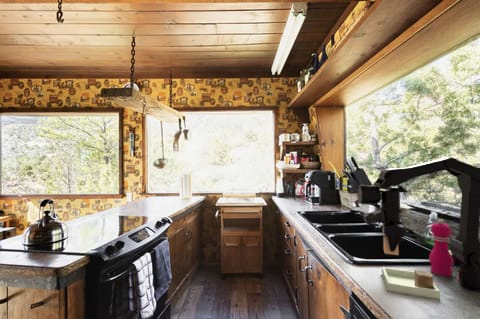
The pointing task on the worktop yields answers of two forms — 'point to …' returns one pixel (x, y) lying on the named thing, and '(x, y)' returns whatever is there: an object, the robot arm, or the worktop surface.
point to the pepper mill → (441, 249)
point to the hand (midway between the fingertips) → (391, 249)
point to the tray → (407, 284)
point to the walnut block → (423, 279)
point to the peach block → (386, 247)
